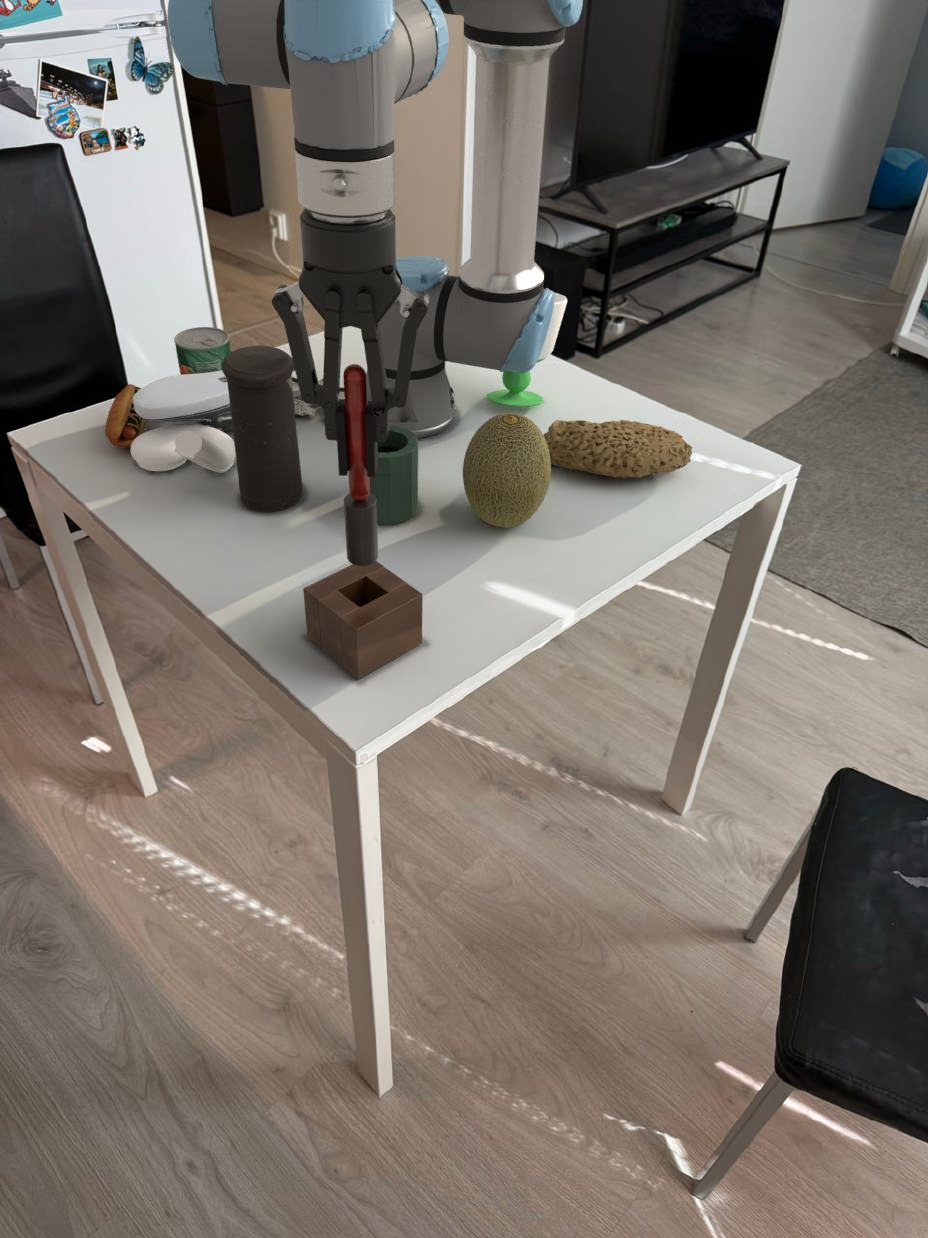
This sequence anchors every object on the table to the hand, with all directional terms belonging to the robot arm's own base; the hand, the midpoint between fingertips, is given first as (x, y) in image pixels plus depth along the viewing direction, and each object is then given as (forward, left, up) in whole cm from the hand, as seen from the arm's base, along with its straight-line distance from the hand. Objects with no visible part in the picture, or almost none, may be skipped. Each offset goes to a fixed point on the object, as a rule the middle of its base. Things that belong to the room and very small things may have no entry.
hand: (358, 468), depth 86 cm
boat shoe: (-50, +14, -13) cm, 54 cm away
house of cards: (-48, +28, -17) cm, 59 cm away
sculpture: (-45, +5, -22) cm, 51 cm away
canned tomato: (-58, +16, -22) cm, 64 cm away
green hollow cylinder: (-19, +19, -22) cm, 34 cm away
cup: (-29, +54, -21) cm, 65 cm away
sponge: (-6, +51, -22) cm, 56 cm away
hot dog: (-59, +1, -21) cm, 63 cm away
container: (-31, +9, -22) cm, 39 cm away
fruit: (-7, +29, -22) cm, 37 cm away
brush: (0, 0, -10) cm, 10 cm away
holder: (0, 0, -22) cm, 22 cm away
